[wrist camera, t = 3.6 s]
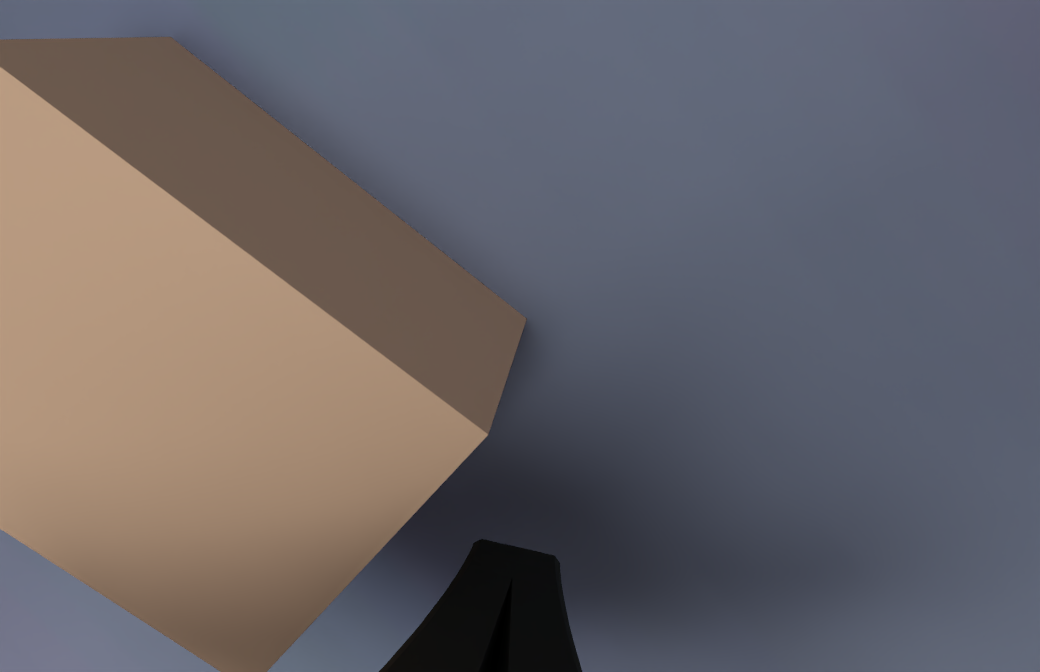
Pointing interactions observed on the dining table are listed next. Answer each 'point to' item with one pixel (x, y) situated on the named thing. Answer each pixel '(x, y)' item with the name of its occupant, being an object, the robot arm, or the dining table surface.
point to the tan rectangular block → (215, 349)
